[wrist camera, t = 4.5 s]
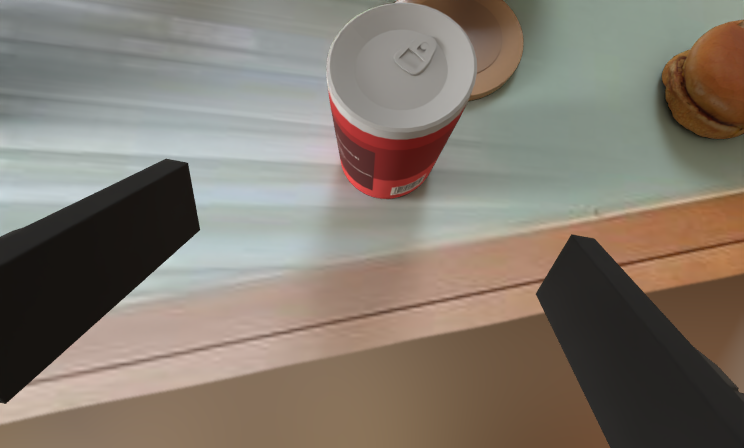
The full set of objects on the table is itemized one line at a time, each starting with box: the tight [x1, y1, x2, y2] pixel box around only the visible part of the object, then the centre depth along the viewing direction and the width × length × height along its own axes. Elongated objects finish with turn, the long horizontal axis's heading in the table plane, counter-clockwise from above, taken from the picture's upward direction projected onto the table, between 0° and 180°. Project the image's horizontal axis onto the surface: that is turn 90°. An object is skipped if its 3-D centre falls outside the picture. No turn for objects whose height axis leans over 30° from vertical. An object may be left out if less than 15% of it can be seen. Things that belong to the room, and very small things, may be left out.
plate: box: [395, 0, 523, 101], centre depth 29 cm, size 13×13×1 cm
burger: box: [662, 20, 744, 139], centre depth 26 cm, size 10×9×5 cm
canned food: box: [326, 3, 477, 199], centre depth 21 cm, size 8×8×11 cm
